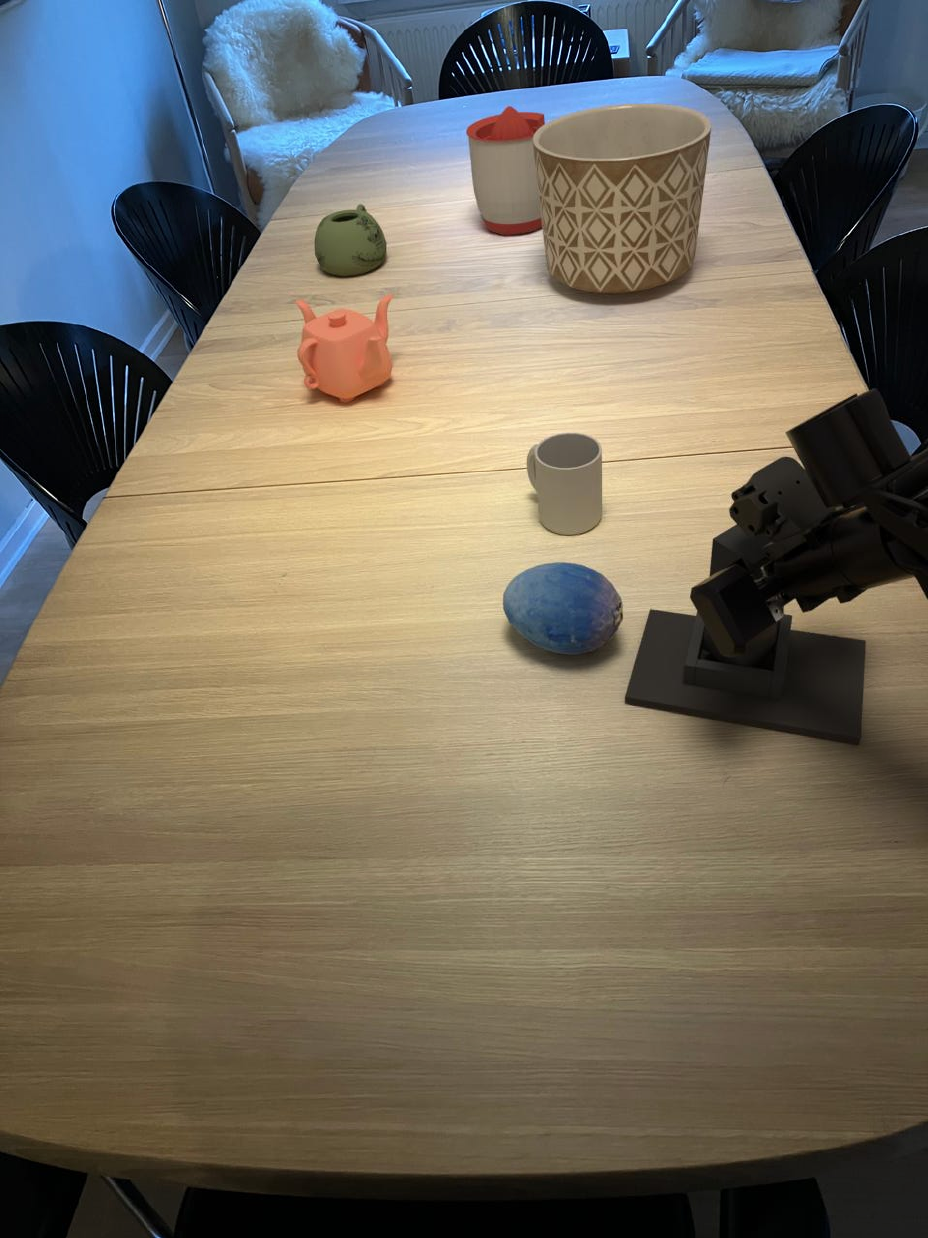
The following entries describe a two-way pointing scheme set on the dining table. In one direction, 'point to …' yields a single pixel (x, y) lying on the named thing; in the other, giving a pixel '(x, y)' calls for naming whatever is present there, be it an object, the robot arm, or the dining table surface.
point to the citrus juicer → (506, 171)
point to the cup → (567, 482)
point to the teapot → (345, 350)
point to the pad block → (750, 550)
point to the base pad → (753, 679)
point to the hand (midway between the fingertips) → (733, 589)
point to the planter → (621, 194)
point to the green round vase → (349, 242)
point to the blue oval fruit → (563, 607)
